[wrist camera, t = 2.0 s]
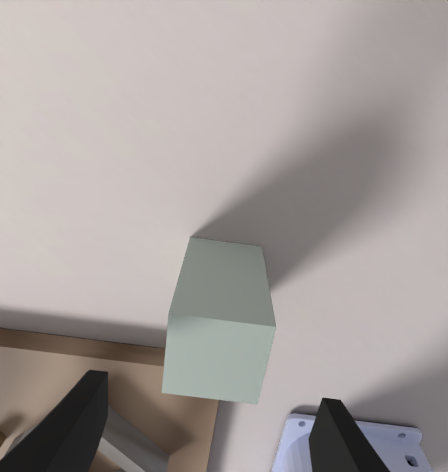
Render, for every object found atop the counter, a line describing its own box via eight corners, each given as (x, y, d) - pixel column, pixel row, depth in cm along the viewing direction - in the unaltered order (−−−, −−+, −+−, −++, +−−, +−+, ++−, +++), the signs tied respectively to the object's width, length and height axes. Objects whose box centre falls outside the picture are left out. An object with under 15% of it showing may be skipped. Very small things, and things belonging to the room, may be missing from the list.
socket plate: (224, 356, 22) (222, 401, 19) (197, 505, 29) (193, 558, 26) (-28, 324, 22) (-73, 366, 19) (1, 484, 28) (-28, 535, 25)
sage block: (261, 246, 19) (276, 327, 13) (249, 306, 21) (257, 404, 14) (190, 236, 19) (168, 313, 13) (183, 297, 21) (161, 392, 14)
